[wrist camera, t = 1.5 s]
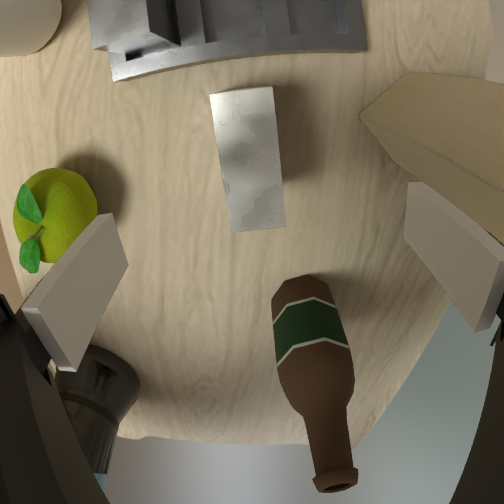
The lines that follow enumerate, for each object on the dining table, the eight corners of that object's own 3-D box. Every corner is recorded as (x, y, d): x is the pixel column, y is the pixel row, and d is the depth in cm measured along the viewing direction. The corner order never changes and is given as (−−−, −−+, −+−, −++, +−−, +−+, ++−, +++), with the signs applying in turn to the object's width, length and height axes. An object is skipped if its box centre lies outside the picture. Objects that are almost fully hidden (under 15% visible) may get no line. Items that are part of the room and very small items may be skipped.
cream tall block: (396, 169, 31) (528, 281, 13) (355, 116, 28) (500, 187, 10) (444, 125, 28) (595, 199, 10) (407, 71, 26) (575, 96, 7)
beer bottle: (309, 261, 37) (363, 462, 16) (343, 300, 40) (399, 477, 19) (257, 296, 39) (265, 493, 18) (294, 331, 42) (319, 504, 21)
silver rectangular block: (235, 188, 32) (231, 232, 24) (221, 91, 27) (209, 94, 19) (275, 183, 32) (286, 226, 23) (264, 85, 27) (272, 86, 18)
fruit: (43, 221, 33) (-2, 264, 25) (50, 150, 29) (-5, 179, 20) (106, 243, 35) (70, 295, 26) (119, 170, 31) (76, 206, 22)
